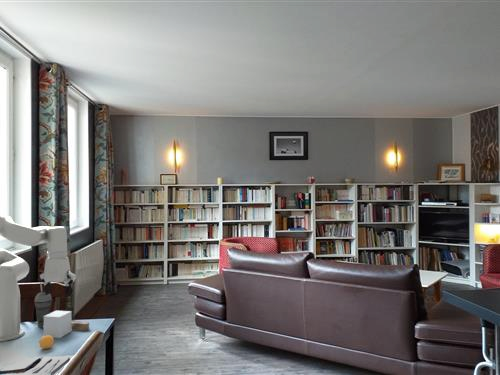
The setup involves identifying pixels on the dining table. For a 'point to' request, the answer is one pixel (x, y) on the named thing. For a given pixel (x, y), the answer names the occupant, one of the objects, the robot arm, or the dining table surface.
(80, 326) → the rail
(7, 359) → the dining table surface
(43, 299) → the beverage cup
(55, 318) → the white squarish block
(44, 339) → the ball
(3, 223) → the robot arm
